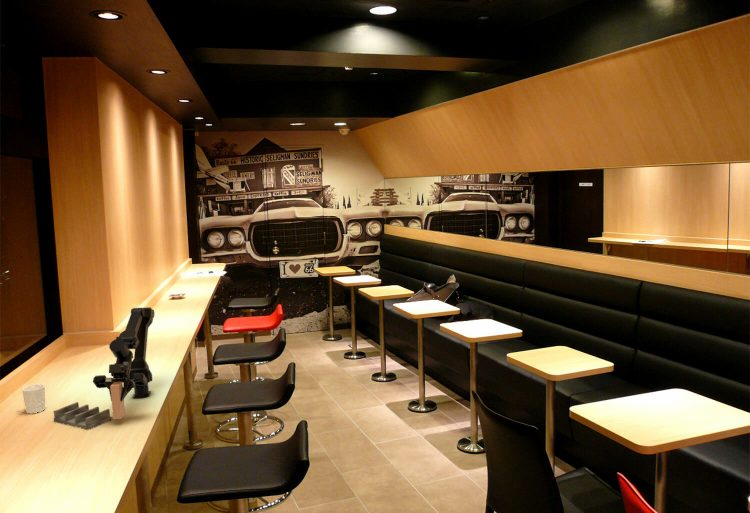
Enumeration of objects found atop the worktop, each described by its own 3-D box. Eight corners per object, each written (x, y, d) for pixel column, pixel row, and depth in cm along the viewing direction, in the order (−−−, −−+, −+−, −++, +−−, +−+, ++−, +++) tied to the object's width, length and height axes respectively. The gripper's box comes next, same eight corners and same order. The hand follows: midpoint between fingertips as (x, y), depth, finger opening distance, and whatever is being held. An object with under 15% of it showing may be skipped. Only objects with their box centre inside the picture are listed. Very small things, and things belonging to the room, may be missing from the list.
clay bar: (117, 414, 234) (114, 382, 232) (125, 413, 234) (122, 381, 233) (113, 419, 230) (110, 386, 228) (121, 418, 230) (118, 385, 228)
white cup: (22, 415, 242) (19, 391, 241) (27, 408, 249) (25, 385, 248) (44, 413, 244) (41, 389, 243) (49, 406, 252) (46, 383, 250)
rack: (76, 411, 244) (75, 402, 244) (111, 419, 235) (110, 409, 235) (53, 421, 235) (52, 410, 235) (88, 429, 226) (87, 419, 226)
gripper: (92, 355, 232) (83, 393, 223) (142, 353, 233) (136, 390, 224) (101, 368, 241) (93, 406, 232) (149, 366, 242) (144, 403, 233)
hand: (116, 401), depth 230 cm, fingers closed on clay bar, 3 cm apart
